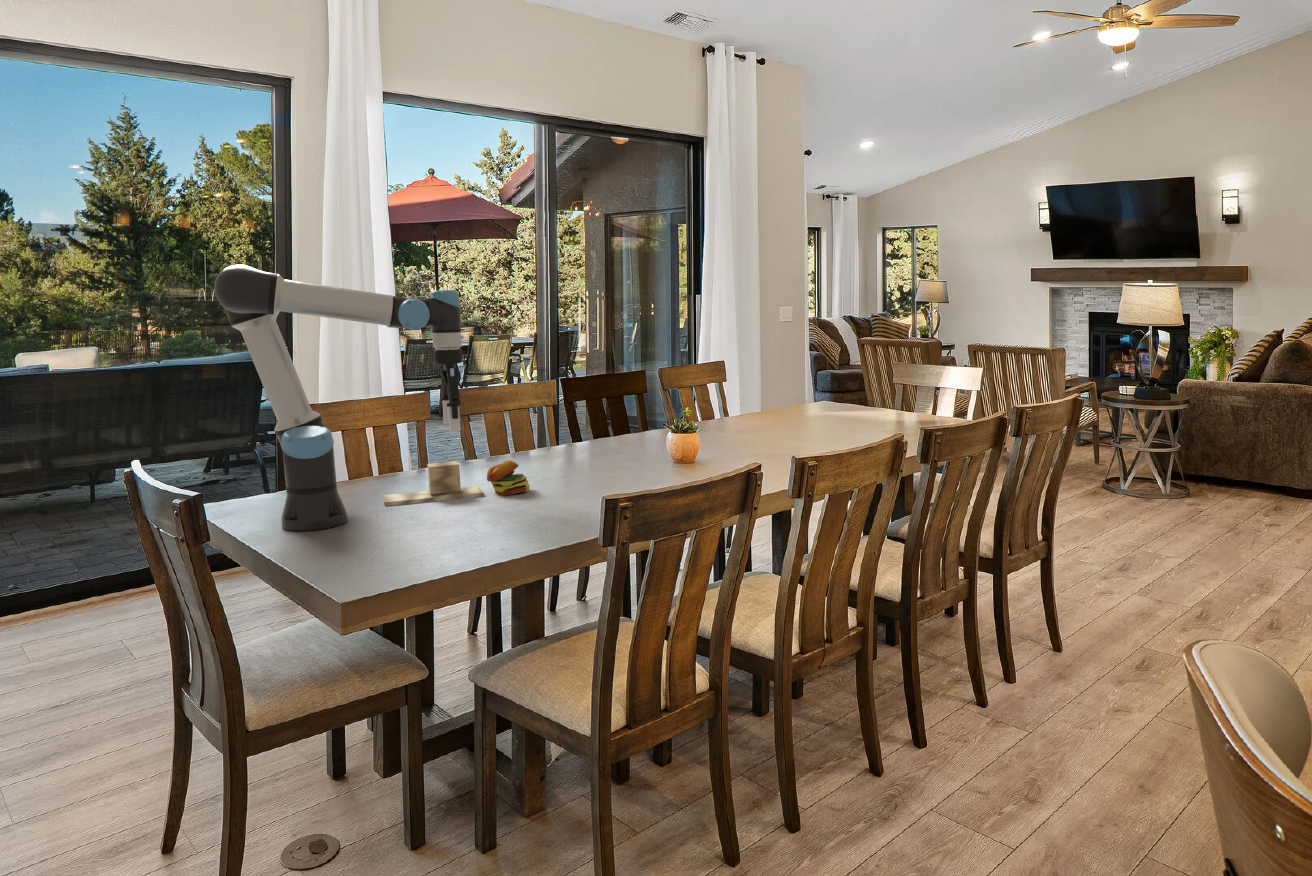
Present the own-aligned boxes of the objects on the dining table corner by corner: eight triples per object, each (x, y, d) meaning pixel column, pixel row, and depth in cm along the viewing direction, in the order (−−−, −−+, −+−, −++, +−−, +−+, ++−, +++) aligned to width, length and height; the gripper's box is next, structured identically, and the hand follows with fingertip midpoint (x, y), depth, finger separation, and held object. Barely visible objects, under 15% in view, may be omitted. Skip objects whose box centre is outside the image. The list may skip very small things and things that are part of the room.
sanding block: (431, 496, 248) (429, 467, 247) (429, 492, 253) (427, 463, 252) (461, 493, 251) (459, 464, 250) (458, 489, 256) (457, 461, 254)
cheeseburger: (528, 495, 250) (517, 460, 248) (490, 505, 251) (479, 471, 249) (533, 486, 260) (523, 453, 258) (497, 496, 261) (486, 463, 259)
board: (384, 506, 243) (384, 502, 243) (383, 498, 251) (383, 495, 251) (483, 496, 251) (483, 492, 251) (479, 489, 259) (478, 485, 259)
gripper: (468, 350, 235) (472, 432, 238) (455, 345, 258) (459, 420, 262) (438, 352, 232) (443, 434, 236) (428, 346, 256) (432, 421, 259)
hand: (452, 427), depth 249 cm, fingers open, 13 cm apart
